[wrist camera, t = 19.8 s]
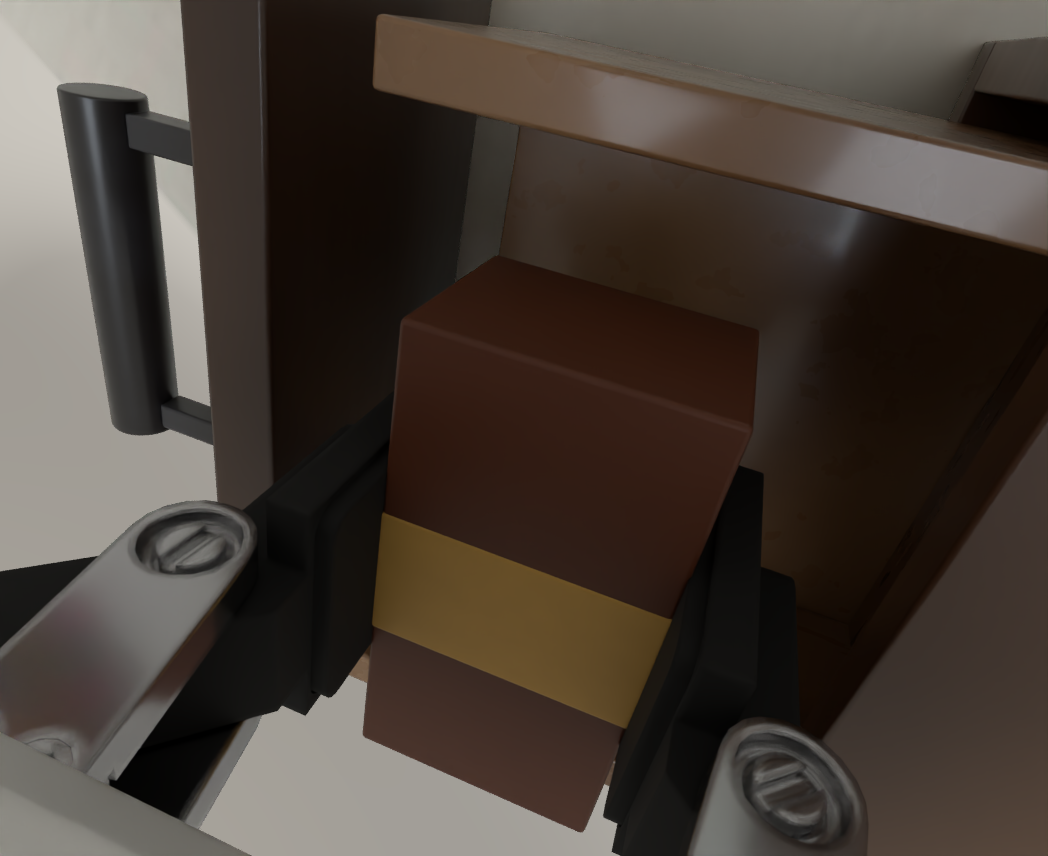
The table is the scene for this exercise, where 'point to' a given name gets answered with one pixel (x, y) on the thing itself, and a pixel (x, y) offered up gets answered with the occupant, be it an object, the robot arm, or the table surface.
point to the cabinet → (964, 610)
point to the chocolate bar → (544, 522)
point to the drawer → (573, 254)
